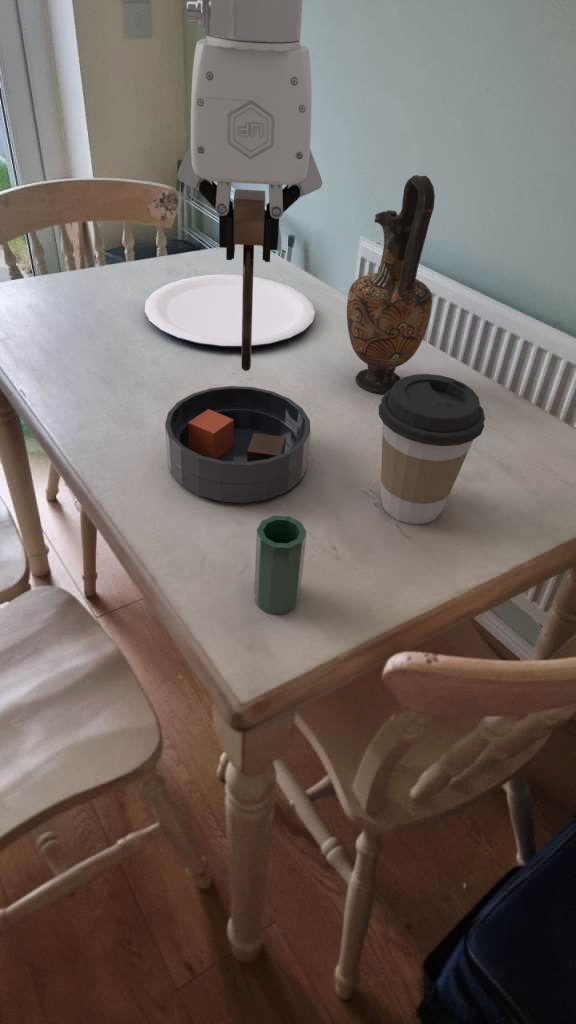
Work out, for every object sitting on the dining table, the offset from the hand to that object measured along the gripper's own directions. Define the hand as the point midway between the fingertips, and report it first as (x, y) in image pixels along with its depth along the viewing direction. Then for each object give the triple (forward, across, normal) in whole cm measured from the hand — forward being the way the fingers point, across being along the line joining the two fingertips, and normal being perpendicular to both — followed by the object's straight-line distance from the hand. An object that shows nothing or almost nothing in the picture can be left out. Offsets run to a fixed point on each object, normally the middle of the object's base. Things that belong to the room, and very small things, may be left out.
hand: (248, 254), depth 66 cm
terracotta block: (+27, -4, +6) cm, 28 cm away
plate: (+28, -3, +47) cm, 55 cm away
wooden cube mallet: (+12, 0, 0) cm, 12 cm away
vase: (+28, +20, +25) cm, 42 cm away
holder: (+27, +4, -19) cm, 34 cm away
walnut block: (+27, +3, +1) cm, 27 cm away
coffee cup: (+28, +20, -4) cm, 34 cm away
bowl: (+27, -1, +4) cm, 28 cm away
